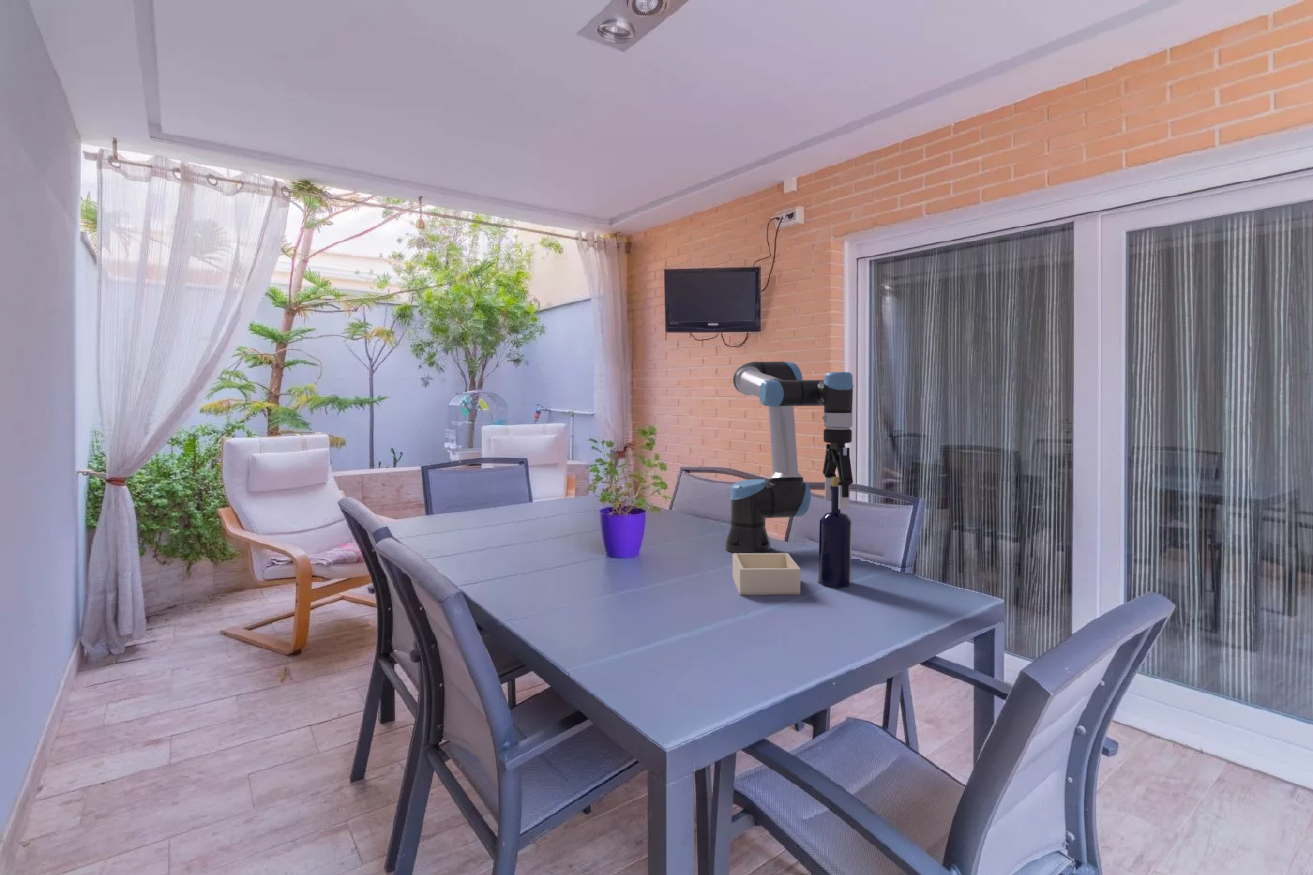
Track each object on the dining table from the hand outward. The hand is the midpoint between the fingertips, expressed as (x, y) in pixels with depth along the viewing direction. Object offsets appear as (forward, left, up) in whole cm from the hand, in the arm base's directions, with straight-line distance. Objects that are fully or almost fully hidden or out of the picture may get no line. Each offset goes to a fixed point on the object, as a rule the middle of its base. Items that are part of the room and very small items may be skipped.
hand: (836, 504), depth 176 cm
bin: (+2, -20, -22) cm, 30 cm away
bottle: (0, 0, -23) cm, 23 cm away
